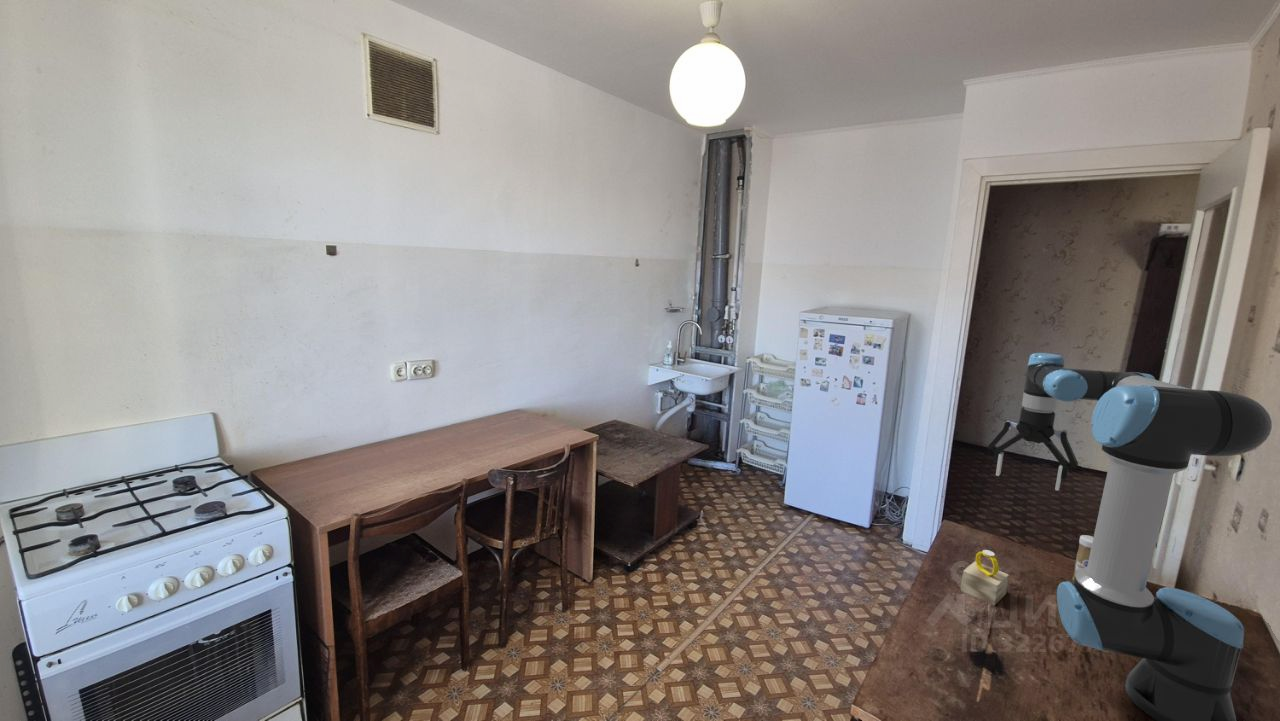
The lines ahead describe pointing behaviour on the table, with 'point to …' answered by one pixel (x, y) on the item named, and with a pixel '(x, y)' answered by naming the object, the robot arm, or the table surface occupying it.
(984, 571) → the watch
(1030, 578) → the table surface
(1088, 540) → the sprinkles bottle
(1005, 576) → the maple block
